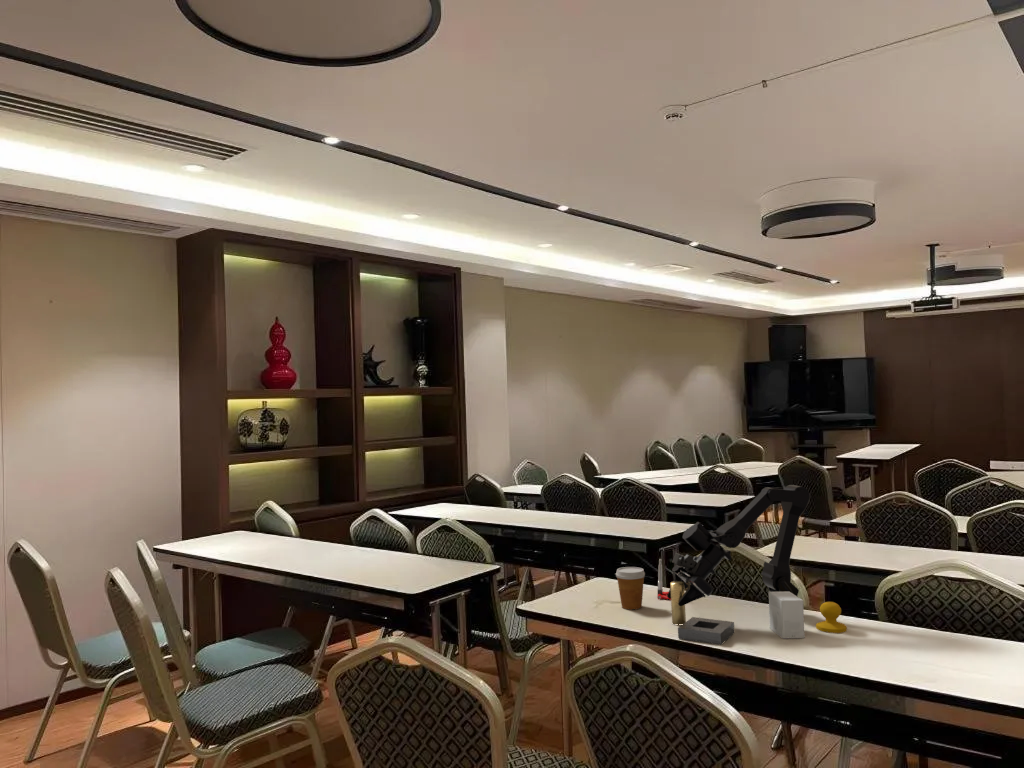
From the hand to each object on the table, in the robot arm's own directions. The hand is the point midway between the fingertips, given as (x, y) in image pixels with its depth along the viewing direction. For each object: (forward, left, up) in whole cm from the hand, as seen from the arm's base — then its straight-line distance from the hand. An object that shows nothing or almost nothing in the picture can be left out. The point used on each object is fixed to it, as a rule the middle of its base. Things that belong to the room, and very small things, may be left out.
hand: (673, 601), depth 224 cm
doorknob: (-41, -14, -7) cm, 44 cm away
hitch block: (-12, +7, -7) cm, 16 cm away
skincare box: (-31, -5, -7) cm, 32 cm away
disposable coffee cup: (+19, -12, -7) cm, 23 cm away
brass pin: (-1, -1, -7) cm, 7 cm away
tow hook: (+12, -29, -7) cm, 32 cm away
